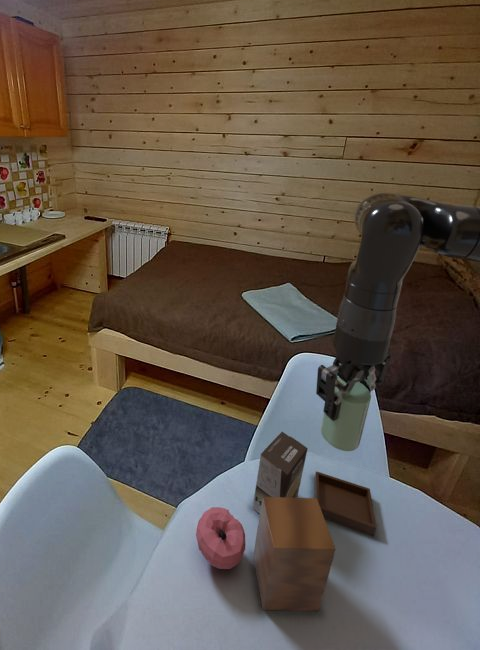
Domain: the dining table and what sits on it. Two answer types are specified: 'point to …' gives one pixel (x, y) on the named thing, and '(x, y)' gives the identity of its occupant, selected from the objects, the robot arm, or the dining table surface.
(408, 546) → the dining table surface
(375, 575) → the dining table surface
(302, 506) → the stand
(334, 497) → the tray
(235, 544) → the apple
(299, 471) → the coffee box
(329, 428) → the pale green cylinder
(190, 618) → the dining table surface
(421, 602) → the dining table surface
